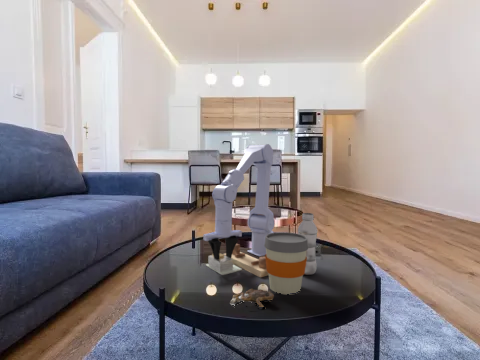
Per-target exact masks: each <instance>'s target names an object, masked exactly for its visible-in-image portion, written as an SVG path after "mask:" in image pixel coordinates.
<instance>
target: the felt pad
mask: <svg viewBox="0 0 480 360" xmlns="http://www.w3.org/2000/svg"><path fill="white" fill-rule="evenodd" d="M205 266H206V268H207V267H208V268H209V269H210V270H213V271H214V272H216V273H218V274H220V275H221V276H225V275H228V274H233V273H236V272H237V273H238V272H240V271H243V269H242V268H240V267H238V266H236V265H234V264H233V270H229V271H225V272H221V273H220V272H218V271H217V270H215V269H213V268H212V267H210V266H208V263H205Z"/></svg>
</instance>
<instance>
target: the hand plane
mask: <svg viewBox="0 0 480 360" xmlns="http://www.w3.org/2000/svg"><path fill="white" fill-rule="evenodd" d="M222 254H223V255H225V256H226V252H225V253H222ZM231 259H233V265H235V266H237V267H239V268H241V269H242V270H245V271H246V272H249V274H252V275H255V276H257V277H259V278H263V277H267V276H268V277H269V273H268V272H267V268H266V259H265V256H258V258H256V257H254V256H251V255H249V254H247V253H245V252H241V244H239V243H238V242H237V243H236V245H235V247H234V250H233V253H232V257H231Z"/></svg>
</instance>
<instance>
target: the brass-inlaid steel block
mask: <svg viewBox="0 0 480 360" xmlns="http://www.w3.org/2000/svg"><path fill="white" fill-rule="evenodd" d="M223 254H224V253H220V257H219V259H215V258H214V255H213V252H212V254H211V255H208V258H207V259H208V261H207V262H208V263H207V264H208V266H210V267H212V268H213V269H215V270H217V271H218V272H220V273H221V272H225V271H229V270H233V265H234V264H233V259H231V258H229V257H227V256H225V255H223ZM218 272H217V273H218Z"/></svg>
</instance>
